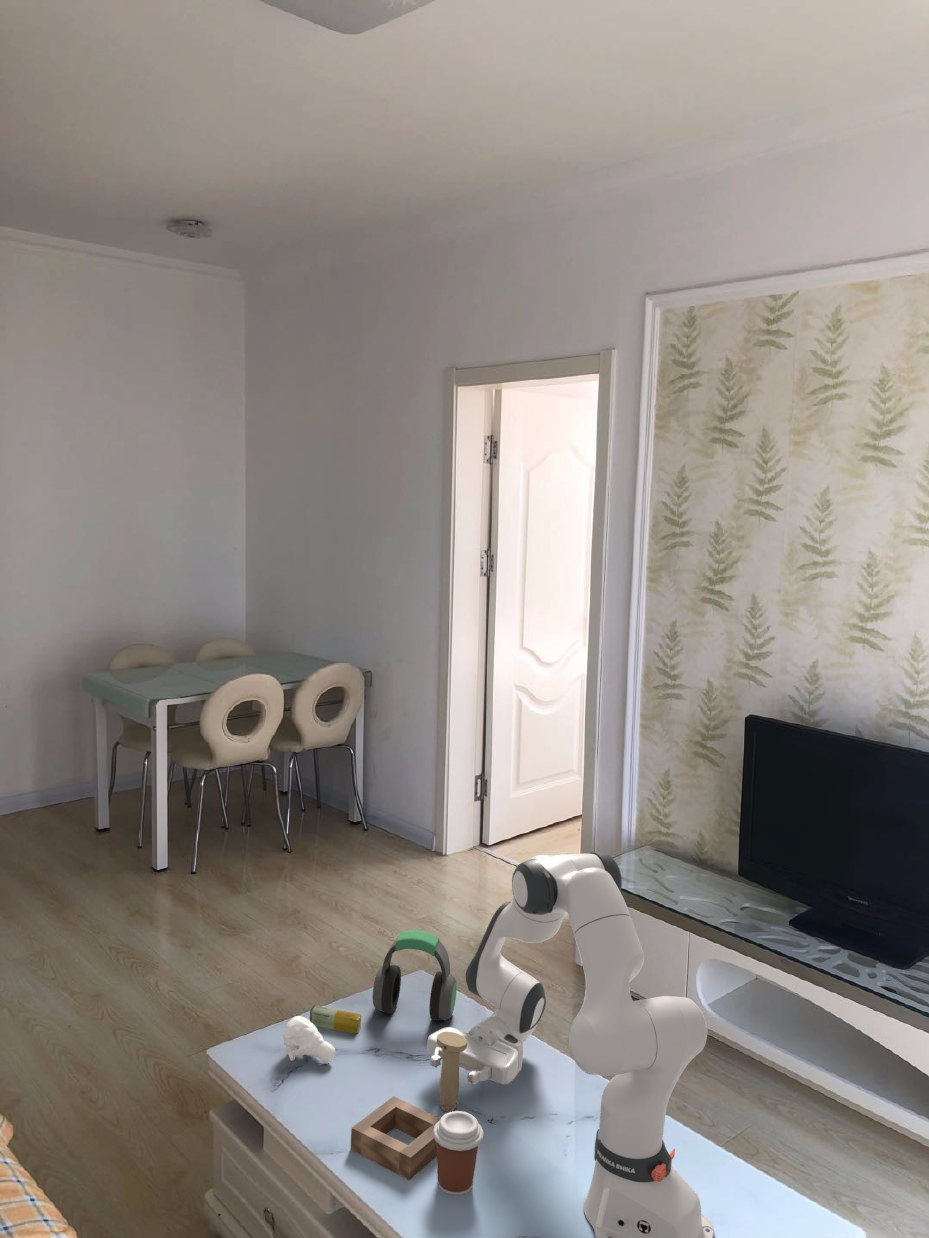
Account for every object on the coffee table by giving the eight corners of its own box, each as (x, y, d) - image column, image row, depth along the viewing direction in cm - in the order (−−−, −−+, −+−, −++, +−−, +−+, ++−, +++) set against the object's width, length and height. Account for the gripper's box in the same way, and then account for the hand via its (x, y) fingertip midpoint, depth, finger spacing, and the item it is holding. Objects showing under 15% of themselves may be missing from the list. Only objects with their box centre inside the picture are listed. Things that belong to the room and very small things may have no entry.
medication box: (308, 1025, 236) (309, 1009, 236) (313, 1020, 239) (313, 1004, 238) (357, 1035, 233) (358, 1018, 233) (361, 1029, 236) (362, 1013, 235)
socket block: (449, 1144, 195) (451, 1122, 195) (409, 1180, 185) (410, 1157, 184) (392, 1116, 203) (393, 1095, 202) (350, 1149, 192) (351, 1127, 192)
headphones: (456, 1008, 248) (461, 930, 245) (448, 1031, 237) (452, 949, 235) (381, 997, 251) (385, 920, 249) (369, 1019, 240) (373, 938, 238)
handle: (454, 1119, 203) (458, 1049, 202) (428, 1107, 207) (432, 1038, 205) (467, 1108, 207) (471, 1039, 206) (442, 1096, 211) (446, 1028, 209)
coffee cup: (419, 1183, 184) (423, 1121, 183) (453, 1160, 191) (456, 1100, 190) (457, 1208, 178) (461, 1144, 177) (490, 1183, 185) (494, 1122, 184)
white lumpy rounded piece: (297, 1007, 226) (344, 1026, 222) (293, 1042, 228) (339, 1061, 223) (282, 1020, 221) (329, 1039, 216) (277, 1056, 222) (324, 1076, 217)
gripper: (449, 1013, 223) (411, 1039, 212) (529, 1045, 212) (494, 1074, 201) (447, 1040, 224) (409, 1067, 212) (527, 1073, 213) (492, 1103, 201)
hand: (451, 1071), depth 206 cm, fingers open, 8 cm apart
